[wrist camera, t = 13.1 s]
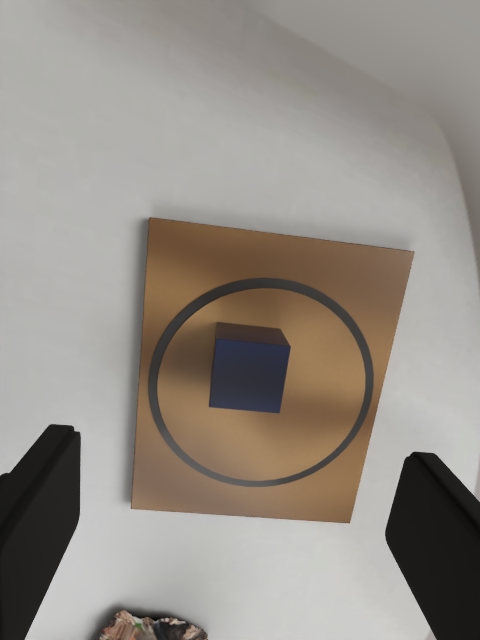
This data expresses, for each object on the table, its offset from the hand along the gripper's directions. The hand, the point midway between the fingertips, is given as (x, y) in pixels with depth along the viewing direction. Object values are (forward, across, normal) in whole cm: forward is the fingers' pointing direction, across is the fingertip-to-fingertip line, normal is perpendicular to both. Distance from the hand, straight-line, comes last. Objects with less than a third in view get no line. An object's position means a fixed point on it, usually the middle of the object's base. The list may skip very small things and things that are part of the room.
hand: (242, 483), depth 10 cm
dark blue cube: (+13, -1, +1) cm, 13 cm away
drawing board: (+14, -2, +3) cm, 15 cm away
